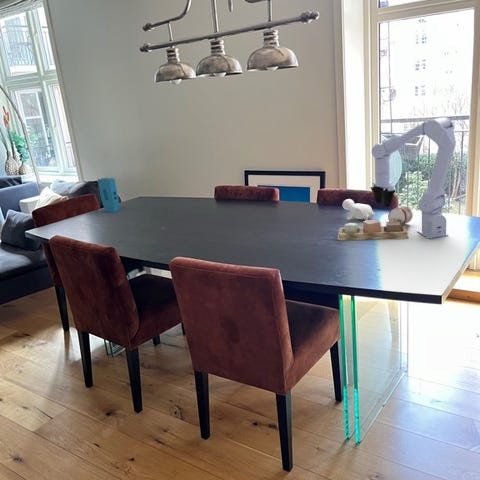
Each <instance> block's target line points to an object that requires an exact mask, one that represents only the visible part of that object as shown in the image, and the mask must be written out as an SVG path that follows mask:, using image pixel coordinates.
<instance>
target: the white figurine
mask: <svg viewBox="0 0 480 480" xmlns="http://www.w3.org/2000/svg"><path fill="white" fill-rule="evenodd" d="M342 208H343V209H344V210H346V211H348V212H350V214H349V215H348V216H347V218H346V220H347V221H350V220H352V219H354V218H356V219H357V220H363V221H368V220H369V218H371V220H373V219H374V217H375V214H376V213H375V212H374V211H373V209H372V207H371V205H369V204H364V203H355V201H354V200H353V199H350V198H348V199H345V200H343V202H342Z"/></svg>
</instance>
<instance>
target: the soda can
mask: <svg viewBox="0 0 480 480" xmlns="http://www.w3.org/2000/svg"><path fill="white" fill-rule="evenodd" d="M413 216H414V214H413V211H412V209H410V207H408V206H399V207H395V208H392V209H391V210H390V211H389V212H388V216H387V220H388V222H395V221H399V222H400V226H404V225H405V224H408V223H410V222H411V221H412V219H413Z"/></svg>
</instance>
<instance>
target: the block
mask: <svg viewBox="0 0 480 480" xmlns="http://www.w3.org/2000/svg"><path fill="white" fill-rule="evenodd" d="M97 184H98V189H99V193H100V194H99V196H100V200H101V204H102V206H103V209H104V211H105V212H108V213H115V212H118V211H120V204H119V203H120V201H119V196H118V194H119V193H118V190H117V185H116V184H117V183H116V179H115V178H114V177H111V178H109V177H103V178H98V179H97Z"/></svg>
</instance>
